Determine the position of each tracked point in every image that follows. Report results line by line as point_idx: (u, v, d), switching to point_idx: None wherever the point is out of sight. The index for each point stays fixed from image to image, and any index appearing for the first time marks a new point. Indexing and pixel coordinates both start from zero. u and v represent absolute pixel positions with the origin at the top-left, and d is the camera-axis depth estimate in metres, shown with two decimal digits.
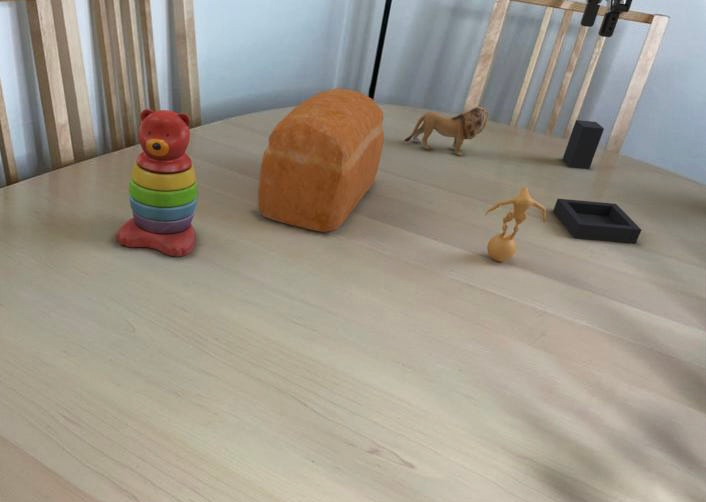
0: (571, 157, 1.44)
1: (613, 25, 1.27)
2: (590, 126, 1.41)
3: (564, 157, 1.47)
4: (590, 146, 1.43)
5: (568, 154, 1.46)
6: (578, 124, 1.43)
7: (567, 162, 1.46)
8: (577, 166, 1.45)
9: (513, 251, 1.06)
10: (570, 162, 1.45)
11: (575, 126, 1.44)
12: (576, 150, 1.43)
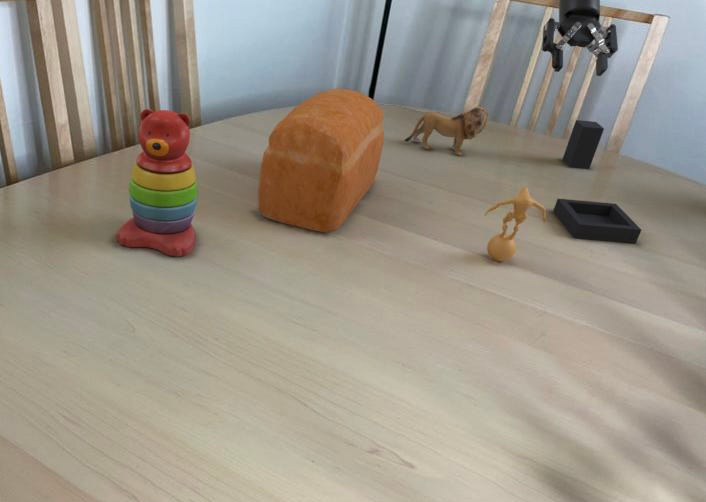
0: (571, 157, 1.44)
1: (554, 58, 1.48)
2: (590, 126, 1.41)
3: (564, 157, 1.47)
4: (590, 146, 1.43)
5: (568, 154, 1.46)
6: (578, 124, 1.43)
7: (567, 162, 1.46)
8: (577, 166, 1.45)
9: (513, 251, 1.06)
10: (570, 162, 1.45)
11: (575, 126, 1.44)
12: (576, 150, 1.43)
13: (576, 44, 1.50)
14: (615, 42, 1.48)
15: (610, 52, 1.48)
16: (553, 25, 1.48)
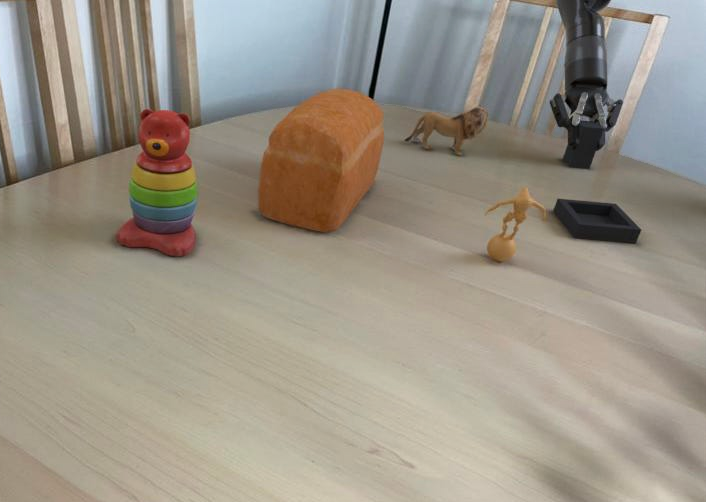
0: (571, 157, 1.44)
1: (570, 135, 1.43)
2: (590, 126, 1.41)
3: (564, 157, 1.47)
4: (590, 146, 1.43)
5: (568, 154, 1.46)
6: (578, 124, 1.43)
7: (567, 162, 1.46)
8: (577, 166, 1.45)
9: (513, 251, 1.06)
10: (570, 162, 1.45)
11: None
12: (576, 150, 1.43)
13: (583, 114, 1.45)
14: (615, 117, 1.43)
15: (608, 126, 1.43)
16: (561, 100, 1.43)
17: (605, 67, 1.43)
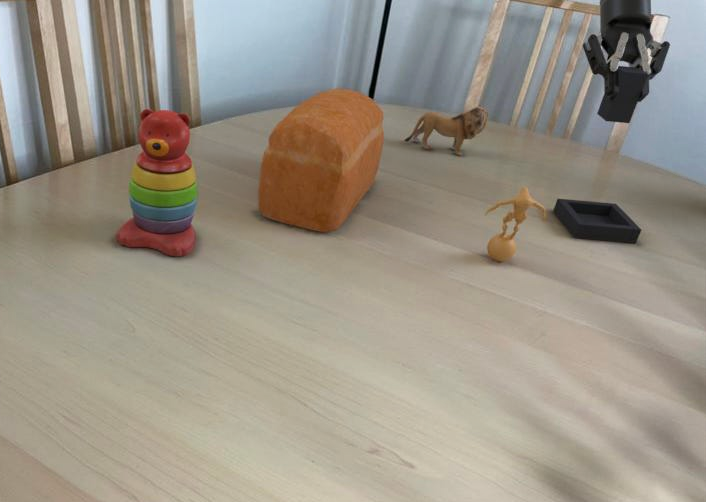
0: (608, 109, 1.23)
1: (607, 83, 1.21)
2: (632, 71, 1.20)
3: (599, 110, 1.26)
4: (631, 95, 1.21)
5: (604, 106, 1.24)
6: (617, 70, 1.21)
7: (603, 116, 1.24)
8: (615, 120, 1.23)
9: (513, 251, 1.06)
10: (607, 116, 1.23)
11: None
12: (614, 101, 1.22)
13: (622, 59, 1.23)
14: (661, 62, 1.21)
15: (652, 73, 1.22)
16: (597, 42, 1.22)
17: (649, 3, 1.21)
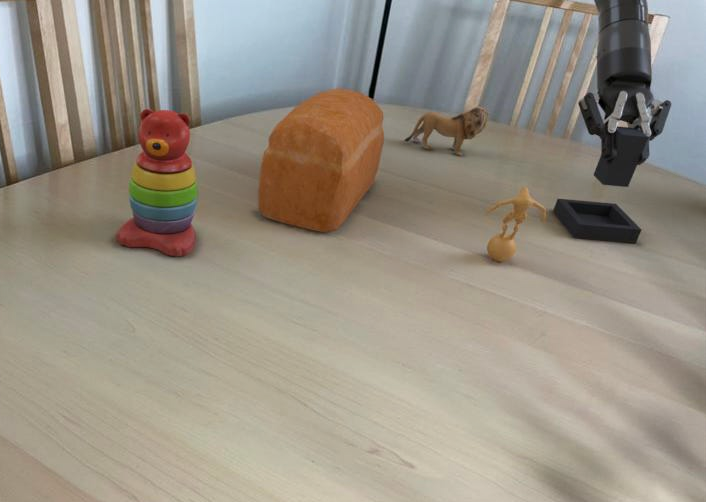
0: (606, 172, 1.15)
1: (605, 145, 1.13)
2: (631, 134, 1.11)
3: (596, 172, 1.18)
4: (630, 159, 1.13)
5: (601, 168, 1.16)
6: (615, 132, 1.13)
7: (600, 179, 1.16)
8: (613, 184, 1.15)
9: (513, 251, 1.06)
10: (604, 179, 1.15)
11: None
12: (612, 164, 1.14)
13: (620, 119, 1.15)
14: (662, 123, 1.13)
15: (653, 134, 1.14)
16: (594, 101, 1.14)
17: (649, 59, 1.13)
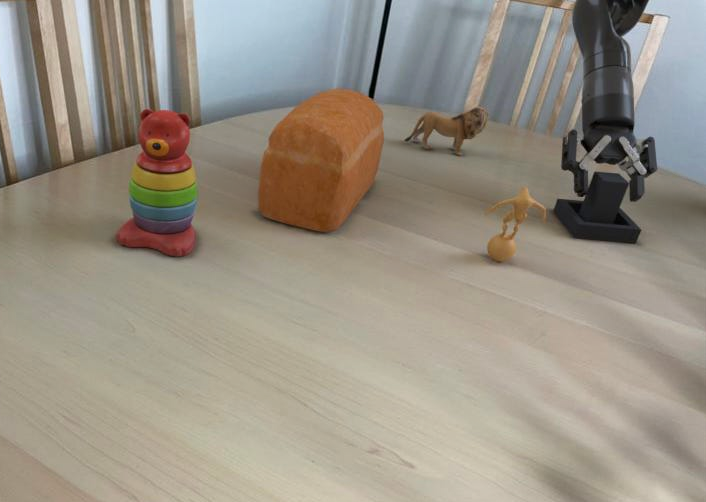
0: (588, 216, 1.19)
1: (577, 181, 1.17)
2: (612, 180, 1.16)
3: (580, 215, 1.22)
4: (612, 203, 1.17)
5: (585, 212, 1.20)
6: (597, 177, 1.17)
7: None
8: None
9: (513, 251, 1.06)
10: None
11: (594, 179, 1.18)
12: (595, 208, 1.18)
13: (604, 162, 1.19)
14: (654, 160, 1.18)
15: (648, 172, 1.18)
16: (575, 139, 1.18)
17: (632, 105, 1.17)
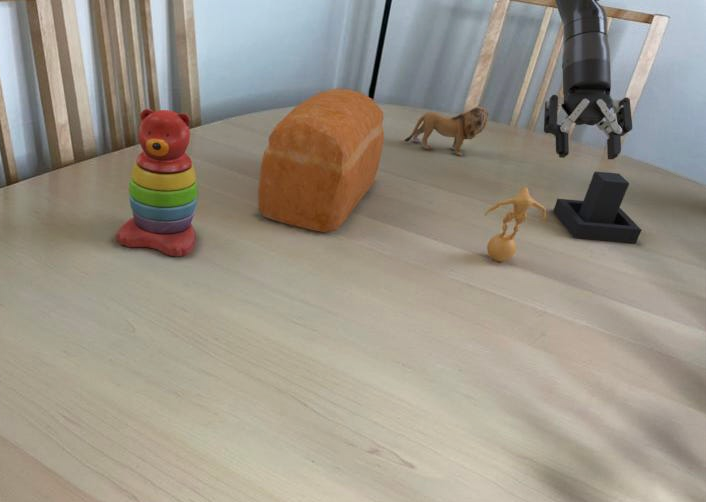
0: (588, 216, 1.19)
1: (558, 143, 1.27)
2: (612, 180, 1.16)
3: (580, 215, 1.22)
4: (612, 203, 1.17)
5: (585, 212, 1.20)
6: (597, 177, 1.17)
7: None
8: None
9: (513, 251, 1.06)
10: None
11: (594, 179, 1.18)
12: (595, 208, 1.18)
13: (584, 123, 1.29)
14: (629, 119, 1.27)
15: (624, 131, 1.28)
16: (556, 103, 1.27)
17: (608, 68, 1.26)
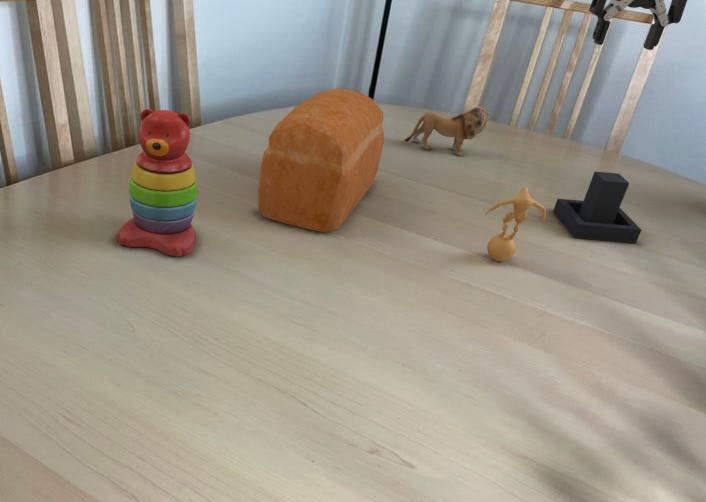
0: (588, 216, 1.19)
1: (597, 30, 1.23)
2: (612, 180, 1.16)
3: (580, 215, 1.22)
4: (612, 203, 1.17)
5: (585, 212, 1.20)
6: (597, 177, 1.17)
7: None
8: None
9: (513, 251, 1.06)
10: None
11: (594, 179, 1.18)
12: (595, 208, 1.18)
13: None
14: (681, 10, 1.20)
15: (670, 22, 1.22)
16: None
17: None
